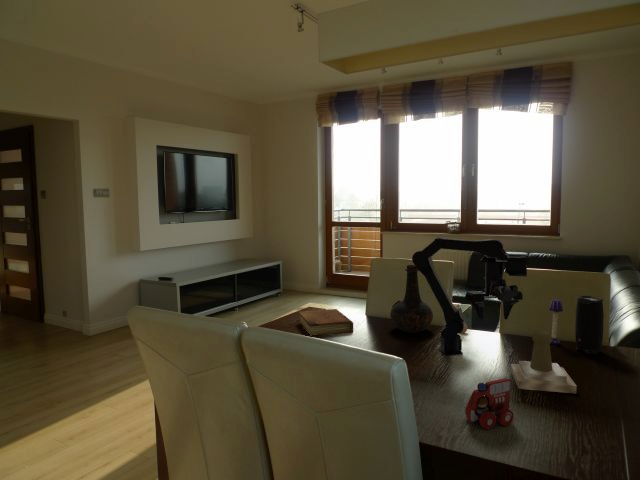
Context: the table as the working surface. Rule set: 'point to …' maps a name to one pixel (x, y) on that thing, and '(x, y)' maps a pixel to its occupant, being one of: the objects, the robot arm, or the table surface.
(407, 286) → the glass bottle
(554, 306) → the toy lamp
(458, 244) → the robot arm
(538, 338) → the brown ball-topped peg
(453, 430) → the table surface
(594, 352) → the portable speaker
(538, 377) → the stepped square base
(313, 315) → the diary
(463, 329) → the figurine
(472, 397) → the toy fire truck
